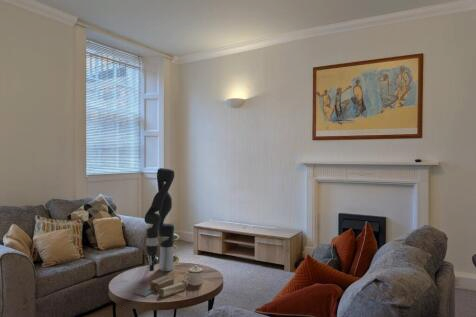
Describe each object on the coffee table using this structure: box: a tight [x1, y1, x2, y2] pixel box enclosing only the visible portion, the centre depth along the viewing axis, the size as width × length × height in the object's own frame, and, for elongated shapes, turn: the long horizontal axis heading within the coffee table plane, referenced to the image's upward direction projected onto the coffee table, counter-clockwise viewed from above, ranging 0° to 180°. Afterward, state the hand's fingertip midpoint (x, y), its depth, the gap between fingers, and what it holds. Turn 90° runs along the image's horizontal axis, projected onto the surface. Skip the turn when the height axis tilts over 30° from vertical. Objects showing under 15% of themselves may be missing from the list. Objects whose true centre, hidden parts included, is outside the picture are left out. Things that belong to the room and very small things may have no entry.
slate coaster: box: [133, 287, 156, 298], centre depth 202 cm, size 9×9×1 cm
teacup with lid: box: [183, 264, 204, 287], centre depth 218 cm, size 12×9×12 cm
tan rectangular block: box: [149, 275, 175, 293], centre depth 210 cm, size 8×12×5 cm, turn 145°
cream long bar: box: [158, 280, 187, 298], centre depth 203 cm, size 3×18×5 cm, turn 139°
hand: (151, 270), depth 218 cm, fingers closed
